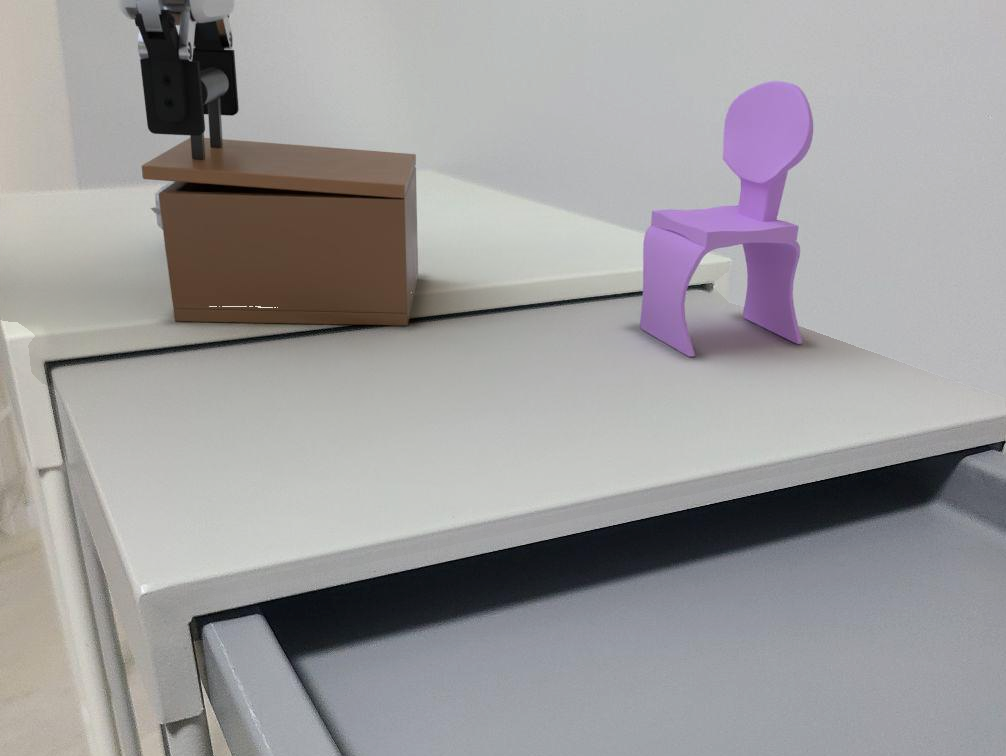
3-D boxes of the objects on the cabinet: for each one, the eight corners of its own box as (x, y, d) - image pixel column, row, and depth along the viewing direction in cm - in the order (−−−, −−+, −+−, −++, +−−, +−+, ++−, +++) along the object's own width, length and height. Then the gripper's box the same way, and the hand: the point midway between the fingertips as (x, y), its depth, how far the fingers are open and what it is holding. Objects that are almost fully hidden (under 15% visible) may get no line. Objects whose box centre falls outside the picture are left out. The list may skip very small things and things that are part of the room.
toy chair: (625, 324, 70) (643, 75, 63) (738, 312, 73) (767, 75, 66) (691, 363, 63) (720, 90, 56) (812, 348, 67) (853, 89, 60)
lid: (142, 179, 63) (133, 76, 61) (191, 148, 74) (185, 60, 71) (404, 198, 64) (406, 99, 62) (415, 165, 75) (417, 79, 72)
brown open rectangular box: (174, 321, 67) (157, 193, 64) (216, 273, 78) (204, 160, 74) (407, 325, 68) (404, 199, 64) (418, 277, 79) (415, 166, 75)
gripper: (141, -189, 67) (171, 105, 75) (39, -235, 52) (91, 140, 60) (263, -181, 67) (280, 110, 75) (198, -224, 52) (228, 146, 60)
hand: (196, 123), depth 67 cm, fingers open, 9 cm apart
